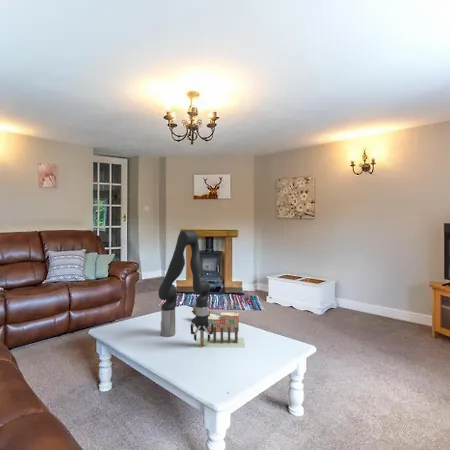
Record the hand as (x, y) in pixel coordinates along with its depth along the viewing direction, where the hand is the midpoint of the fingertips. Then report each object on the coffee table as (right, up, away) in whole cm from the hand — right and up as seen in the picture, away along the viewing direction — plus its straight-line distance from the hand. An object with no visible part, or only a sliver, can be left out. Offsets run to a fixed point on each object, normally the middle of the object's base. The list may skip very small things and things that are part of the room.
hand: (202, 340), depth 198 cm
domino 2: (+7, -3, +6) cm, 10 cm away
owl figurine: (-4, -3, +45) cm, 45 cm away
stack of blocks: (+13, -3, +26) cm, 29 cm away
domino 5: (+21, -3, +6) cm, 22 cm away
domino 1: (0, -3, 0) cm, 3 cm away
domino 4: (+16, -3, +6) cm, 18 cm away
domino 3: (+12, -3, +6) cm, 14 cm away
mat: (+11, -3, +5) cm, 12 cm away
